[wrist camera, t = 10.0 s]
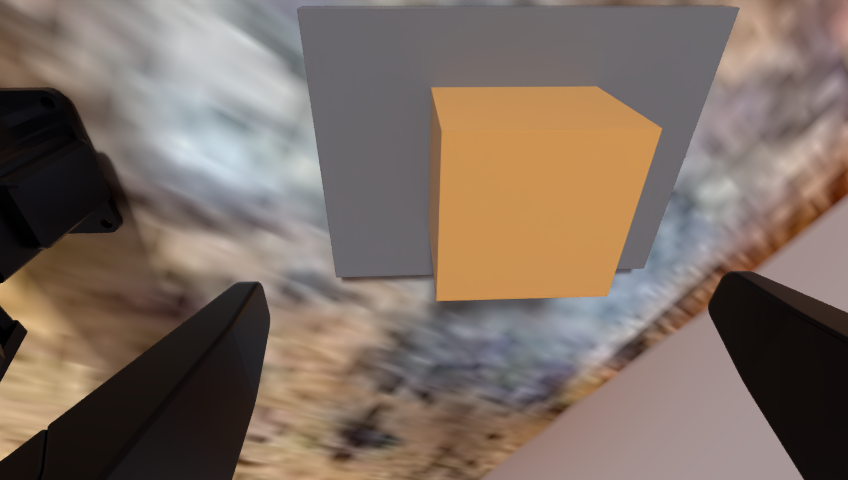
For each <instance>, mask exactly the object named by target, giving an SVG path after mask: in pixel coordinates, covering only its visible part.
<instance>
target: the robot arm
mask: <svg viewBox="0 0 848 480" xmlns="http://www.w3.org/2000/svg"><path fill="white" fill-rule="evenodd" d="M47 97H48V98H50V99H51V100H52V101H53V102H54V104H55V106H53V105H51V104H50V103H49V102H48V99H47ZM106 219H108V220H109V221H111V223H109V222H108V221H107V220H106ZM122 224H123V220H122V217H121V215H120V213H119V211H118V209H117V206H116V204H115V202H114V200H113V198H112V196H111V192H110V190H109V188H108V186H107V184H106V182H105V179H104V177H103V175H102V173H101V171H100V169H99V166H98V164H97V162H96V160H95V158H94V156H93V153H92V151H91V149H90V147H89V145H88V144H87V141H86V139H85V137H84V135H83V133H82V131H81V129H80V126H79V124H78V122H77V120H76V118H75V116H74V113H73V111H72V109H71V107H70V105H69V103H68V100H67V99H66V97H65V96H64V95H63V94H62V93H61V92H60V91H58V90H56V89H54V88H48V87H47V88H0V283H3V282H5V281H6V280H7V279H8V278H9V277H11V276H12V275H13V274H14V273H16V272H17V271H18V270H19V269H21V268H22V267H23V266H24V265H25V264H27V263H28V262H29V261H30V260H32V259H33V258H34V257H35V256H36V255H38V254H39V253H40V252H41V251H43V250H44V249H48V248H50V247H52V246H53V245H54V244H56V243H57V242H58V241H59V240H60V239H62V238H63V237H64V236H65V235H66V234H73V233H111V232H115V231H116V230H118V229H119V228H120V227H121V226H122ZM708 311H709V314H710V317H711V319H712V320H713V322H714V325H715V327H716V328H717V331H718V333H719V335H720V337H721V339H722V341H723V342H724V345H725V347H726V349H727V351H728V353H729V355H730V357H731V359H732V361H733V363H734V365H735V367H736V369H737V371H738V373H739V375H740V377H741V378H742V380H743V382H744V384H745V385H746V387H747V389H748V391H749V392H750V394H751V395H752V397H753V399H754V400H755V402H756V404H757V405H758V407H759V408H760V410H761V412H762V413H763V415H764V417H765V418H766V420H767V421H768V423H769V425H770V426H771V428H772V429H773V431H774V432H775V434H776V436H777V437H778V439H779V441H780V442H781V444H782V445H783V447H784V449H785V450H786V452H787V453H788V455H789V456H790V458H791V460H792V461H793V463H794V465H795V466H796V468H797V469H798V471H799V472H800V474H801V476H802V477H803V479H804V480H848V313H846V312H845V311H842V310H840V309H838V308H835V307H833V306H831V305H828V304H826V303H824V302H821V301H819V300H817V299H814V298H812V297H810V296H807V295H805V294H803V293H800V292H798V291H796V290H793V289H791V288H789V287H786V286H784V285H782V284H779V283H777V282H775V281H772V280H770V279H768V278H766V277H763V276H761V275H759V274H756V273H754V272H751V271H730V272H727V273H726V274H724V275H723V276H722V278H721V280H720V282H719V284H718V285H717V287H716V289H715V291H714V293H713V295H712V297H711V299H710V301H709V304H708ZM269 328H270V314H269V309H268V305H267V301H266V297H265V293H264V289H263V286H262V285H261V283H259V282H257V281H255V282H237V283H235V284H234V285H232V286H231V287H230V288H228V289H227V290H226V291H224V292H223V293H222V294H221V295H219V296H218V297H217V298H215V299H214V300H213V301H211V302H210V303H209V304H207V305H206V306H205V307H203V308H202V309H201V310H199V311H198V312H197V313H196V314H194V315H193V316H192V317H190V318H189V319H188V320H186V321H185V322H184V323H182V324H181V325H180V326H178V327H177V328H176V329H174V330H173V331H172V332H171V333H169V334H168V335H167V336H165V337H164V338H163V339H161V340H160V341H159V342H157V343H156V344H155V345H153V346H152V347H151V348H149V349H148V350H147V351H146V352H144V353H143V354H142V355H140V356H139V357H138V358H136V359H135V360H134V361H132V362H131V363H130V364H128V365H127V366H126V367H124V368H123V369H122V370H121V371H119V372H118V373H117V374H115V375H114V376H113V377H111V378H110V379H109V380H107V381H106V382H105V383H103V384H102V385H101V386H99V387H98V388H97V389H96V390H94V391H93V392H92V393H90V394H89V395H88V396H86V397H85V398H84V399H82V400H81V401H80V402H78V403H77V404H76V405H74V406H73V407H72V408H71V409H69V410H68V411H67V412H65V413H64V414H63V415H61V416H60V417H59V418H57V419H56V420H55V421H53V422H52V423H51V424H50V425H49V426H48V429H47V430H41V431H40V432H39V433H37V434H36V435H35V436H33V437H32V438H31V439H29V440H28V441H27V442H26V443H24V444H23V445H22V446H20V447H19V448H18V449H16V450H15V451H14V452H12V453H11V454H10V455H8V456H7V457H6V458H4V459H3V460H1V461H0V480H232V478H233V475H234V472H235V468H236V465H237V462H238V459H239V455H240V452H241V449H242V446H243V442H244V439H245V436H246V433H247V429H248V426H249V423H250V420H251V416H252V413H253V409H254V406H255V402H256V398H257V393H258V388H259V382H260V377H261V372H262V366H263V361H264V355H265V350H266V344H267V339H268V333H269ZM26 334H27V330H26V329H25V328H24V327H23V326H22V324H21V323H20V322H19V321H18V320H13V319H12V318H11V317H10V316H9V315H8V314H7V313H6V312H5V310H4V309H3V308H2V307H1V306H0V382H1V380H2V378H3V376H4V374H5V373H6V371H7V369H8V367H9V365H10V363H11V362H12V360H13V358H14V356H15V354H16V352H17V350H18V349H19V347H20V345H21V343H22V341H23V339H24V338H25V336H26Z"/></svg>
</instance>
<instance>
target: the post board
mask: <svg viewBox="0 0 848 480" xmlns="http://www.w3.org/2000/svg"><path fill="white" fill-rule="evenodd" d="M738 11H739V8H738V7H731V6H724V5H623V6H302V7H300V8H298V9H297V13H298V19H299V26H300V33H301V40H302V47H303V54H304V60H305V67H306V74H307V81H308V88H309V95H310V101H311V108H312V115H313V122H314V129H315V136H316V142H317V149H318V156H319V163H320V170H321V177H322V184H323V190H324V197H325V204H326V211H327V218H328V225H329V231H330V238H331V245H332V252H333V259H334V266H335V272H336V277H365V276H400V275H434V272H433V263H432V254H431V245H430V236H429V190H430V121H431V87H581V86H597V87H599V88H600V89H602V90H603V91H605V92H606V93H608V94H610V95H611V96H613V97H614V98H616V99H617V100H619V101H620V102H622V103H624V104H625V105H627V106H628V107H630V108H631V109H633V110H634V111H636V112H638V113H639V114H641V115H642V116H644V117H645V118H647V119H648V120H650V121H652V122H653V123H655V124H656V125H658V126H659V127H661V128H662V131H661V134H660V137H659V140H658V143H657V146H656V149H655V153H654V156H653V159H652V162H651V165H650V168H649V171H648V174H647V177H646V180H645V183H644V186H643V189H642V192H641V195H640V198H639V201H638V204H637V207H636V211H635V214H634V217H633V220H632V223H631V226H630V229H629V232H628V235H627V238H626V241H625V244H624V247H623V250H622V253H621V256H620V259H619V262H618V265H617V269H642V268H644V266H645V264H646V261H647V258H648V255H649V253H650V250H651V247H652V245H653V242H654V239H655V236H656V234H657V231H658V228H659V226H660V223H661V220H662V217H663V215H664V212H665V209H666V207H667V204H668V201H669V198H670V196H671V193H672V190H673V188H674V185H675V182H676V179H677V177H678V174H679V171H680V168H681V166H682V163H683V160H684V158H685V155H686V152H687V149H688V147H689V144H690V141H691V139H692V136H693V133H694V130H695V128H696V125H697V122H698V120H699V117H700V114H701V111H702V109H703V106H704V103H705V101H706V98H707V95H708V92H709V90H710V87H711V84H712V82H713V79H714V76H715V73H716V71H717V68H718V65H719V62H720V60H721V57H722V54H723V52H724V49H725V46H726V43H727V41H728V38H729V35H730V33H731V30H732V27H733V24H734V22H735V19H736V16H737V14H738Z"/></svg>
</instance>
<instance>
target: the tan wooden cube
mask: <svg viewBox="0 0 848 480" xmlns="http://www.w3.org/2000/svg"><path fill="white" fill-rule="evenodd" d="M661 131H662V128H661V127H659V126H658V125H656V124H655V123H653V122H652V121H650V120H648V119H647V118H645V117H644V116H642V115H641V114H639V113H638V112H636V111H634V110H633V109H631V108H630V107H628V106H627V105H625V104H624V103H622V102H620V101H619V100H617V99H616V98H614V97H613V96H611V95H610V94H608V93H606V92H605V91H603V90H602V89H600V88H599V87H597V86H581V87H431V121H430V190H429V236H430V245H431V254H432V263H433V272H434V282H435V291H436V300H437V301H455V300H490V299H526V298H561V297H596V296H608V293H609V290H610V287H611V284H612V281H613V278H614V275H615V272H616V269H617V265H618V262H619V259H620V256H621V253H622V250H623V247H624V244H625V241H626V238H627V235H628V232H629V229H630V226H631V223H632V220H633V217H634V214H635V211H636V207H637V204H638V201H639V198H640V195H641V192H642V189H643V186H644V183H645V180H646V177H647V174H648V171H649V168H650V165H651V162H652V159H653V156H654V153H655V149H656V146H657V143H658V140H659V137H660V134H661Z"/></svg>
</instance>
